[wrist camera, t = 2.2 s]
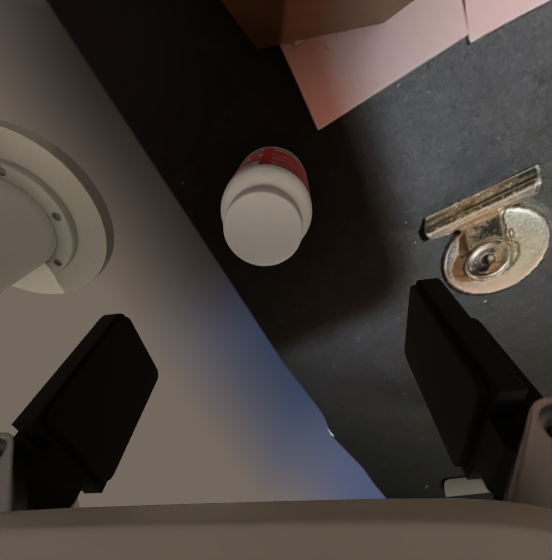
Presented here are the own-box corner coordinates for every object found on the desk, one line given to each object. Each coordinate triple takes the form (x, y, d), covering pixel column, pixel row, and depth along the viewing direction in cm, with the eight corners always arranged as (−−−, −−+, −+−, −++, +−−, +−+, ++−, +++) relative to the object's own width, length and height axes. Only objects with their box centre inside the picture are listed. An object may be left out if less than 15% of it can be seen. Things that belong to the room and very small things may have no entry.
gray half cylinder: (562, 476, 51) (571, 488, 50) (442, 490, 55) (446, 501, 54) (566, 464, 49) (575, 476, 47) (440, 479, 53) (445, 490, 52)
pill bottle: (260, 129, 24) (243, 152, 15) (320, 172, 26) (338, 217, 17) (225, 193, 27) (192, 245, 18) (281, 227, 29) (277, 292, 19)
